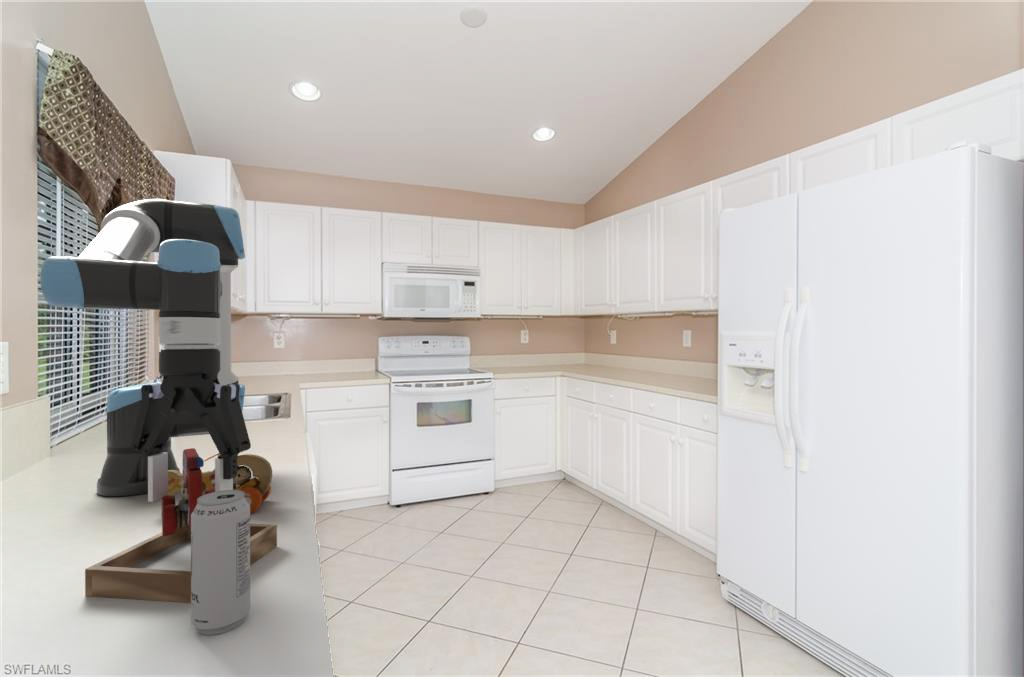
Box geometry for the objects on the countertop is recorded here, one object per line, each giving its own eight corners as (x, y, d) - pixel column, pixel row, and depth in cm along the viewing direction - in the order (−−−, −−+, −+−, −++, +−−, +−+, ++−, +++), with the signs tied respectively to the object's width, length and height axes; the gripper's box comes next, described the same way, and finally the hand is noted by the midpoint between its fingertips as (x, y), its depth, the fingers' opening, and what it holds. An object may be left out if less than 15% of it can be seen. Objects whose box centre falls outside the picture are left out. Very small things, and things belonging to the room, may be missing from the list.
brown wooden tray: (186, 541, 81) (186, 520, 81) (276, 546, 79) (276, 524, 79) (85, 595, 64) (85, 569, 64) (197, 603, 62) (197, 575, 62)
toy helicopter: (265, 513, 94) (265, 442, 94) (143, 522, 89) (143, 447, 89) (277, 499, 102) (276, 433, 102) (165, 507, 97) (165, 438, 97)
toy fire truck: (163, 545, 64) (162, 466, 64) (161, 518, 74) (160, 449, 74) (224, 532, 68) (223, 458, 68) (214, 508, 78) (213, 443, 78)
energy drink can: (200, 613, 60) (199, 491, 60) (254, 604, 62) (254, 486, 62) (183, 642, 54) (183, 507, 54) (244, 632, 56) (244, 501, 56)
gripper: (97, 348, 69) (97, 505, 69) (244, 347, 66) (245, 511, 66) (143, 347, 76) (143, 489, 76) (277, 346, 74) (278, 494, 74)
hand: (190, 499), depth 71 cm, fingers closed on toy fire truck, 10 cm apart
